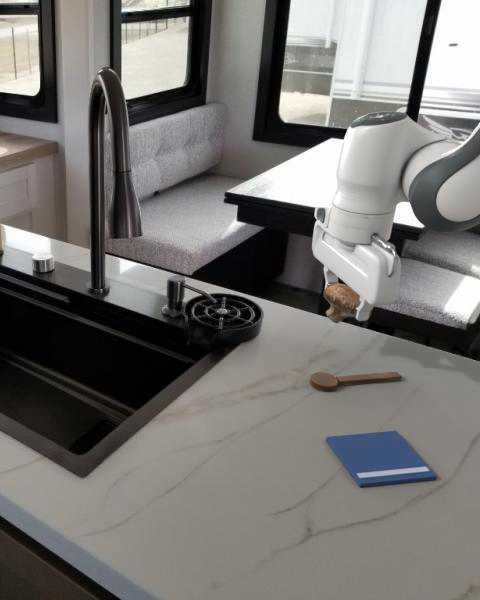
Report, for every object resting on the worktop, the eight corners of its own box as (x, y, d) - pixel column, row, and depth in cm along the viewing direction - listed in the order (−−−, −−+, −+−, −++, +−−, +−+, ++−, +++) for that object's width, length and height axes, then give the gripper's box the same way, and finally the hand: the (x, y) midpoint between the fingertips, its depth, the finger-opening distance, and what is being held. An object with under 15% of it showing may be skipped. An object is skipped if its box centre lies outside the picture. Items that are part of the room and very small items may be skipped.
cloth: (395, 433, 87) (396, 429, 86) (436, 479, 79) (437, 475, 79) (325, 440, 86) (326, 436, 85) (359, 487, 78) (360, 483, 77)
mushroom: (313, 311, 100) (334, 276, 99) (310, 310, 107) (329, 278, 107) (361, 336, 98) (383, 301, 97) (354, 334, 105) (375, 301, 105)
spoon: (390, 371, 100) (392, 365, 100) (405, 385, 97) (406, 380, 97) (305, 378, 99) (306, 372, 99) (316, 393, 95) (317, 387, 95)
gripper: (420, 247, 87) (400, 335, 93) (346, 201, 105) (333, 277, 111) (377, 250, 86) (359, 338, 93) (310, 203, 105) (299, 280, 111)
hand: (345, 304), depth 102 cm, fingers closed on mushroom, 8 cm apart
